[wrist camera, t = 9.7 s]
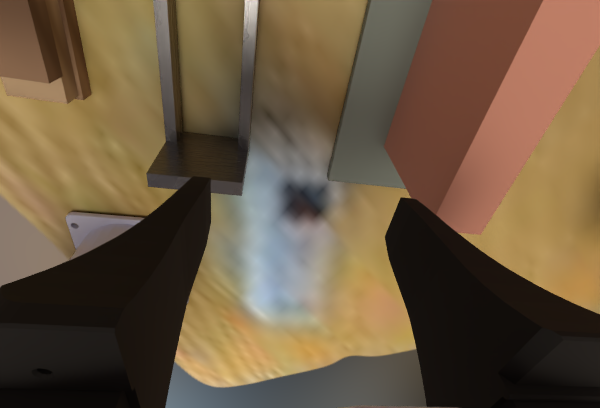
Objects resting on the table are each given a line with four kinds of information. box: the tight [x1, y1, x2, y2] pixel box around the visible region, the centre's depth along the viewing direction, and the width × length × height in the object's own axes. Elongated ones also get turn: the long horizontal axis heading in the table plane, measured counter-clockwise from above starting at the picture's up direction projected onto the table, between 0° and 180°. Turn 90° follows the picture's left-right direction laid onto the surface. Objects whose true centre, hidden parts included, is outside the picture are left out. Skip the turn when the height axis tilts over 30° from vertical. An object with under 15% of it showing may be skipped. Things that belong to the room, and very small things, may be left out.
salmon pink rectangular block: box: [384, 0, 600, 235], centre depth 15 cm, size 10×2×8 cm, turn 171°
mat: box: [327, 0, 432, 189], centre depth 19 cm, size 16×8×1 cm, turn 171°
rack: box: [146, 0, 260, 196], centre depth 15 cm, size 14×5×5 cm, turn 171°
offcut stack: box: [0, 0, 91, 104], centre depth 15 cm, size 8×3×4 cm, turn 170°
